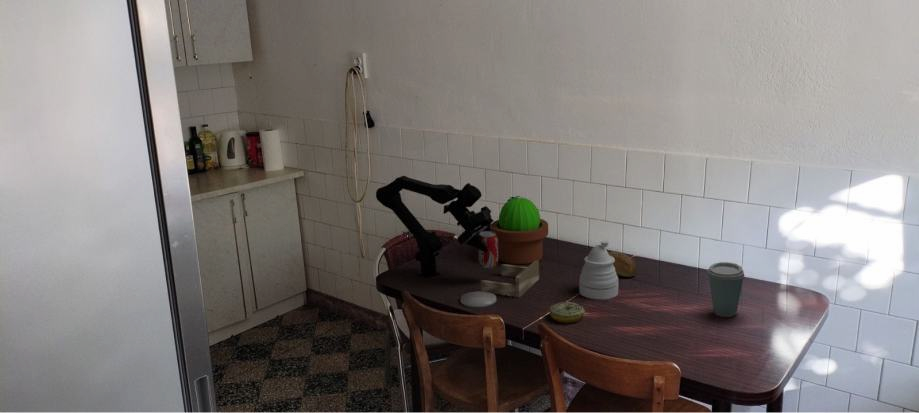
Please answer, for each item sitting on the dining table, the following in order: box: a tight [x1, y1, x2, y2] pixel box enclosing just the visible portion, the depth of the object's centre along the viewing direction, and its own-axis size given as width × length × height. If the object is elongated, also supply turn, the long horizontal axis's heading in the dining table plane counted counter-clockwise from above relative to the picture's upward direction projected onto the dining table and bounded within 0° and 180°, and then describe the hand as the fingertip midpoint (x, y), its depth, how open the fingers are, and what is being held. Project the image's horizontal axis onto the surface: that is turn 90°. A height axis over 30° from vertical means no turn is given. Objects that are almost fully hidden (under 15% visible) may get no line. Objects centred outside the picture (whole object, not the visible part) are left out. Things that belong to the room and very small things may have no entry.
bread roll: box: [608, 251, 638, 278], centre depth 249 cm, size 10×15×8 cm, turn 48°
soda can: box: [477, 231, 499, 269], centre depth 245 cm, size 7×7×12 cm
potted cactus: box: [491, 195, 549, 265], centre depth 269 cm, size 22×22×25 cm
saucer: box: [460, 290, 497, 308], centre depth 232 cm, size 12×12×1 cm
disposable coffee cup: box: [706, 261, 745, 318], centre depth 211 cm, size 11×11×15 cm
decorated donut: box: [549, 301, 586, 324], centre depth 215 cm, size 10×11×4 cm
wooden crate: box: [480, 260, 540, 298], centre depth 243 cm, size 14×18×7 cm
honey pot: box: [578, 240, 619, 300], centre depth 232 cm, size 13×13×18 cm
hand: (491, 248), depth 244 cm, fingers closed on soda can, 7 cm apart
